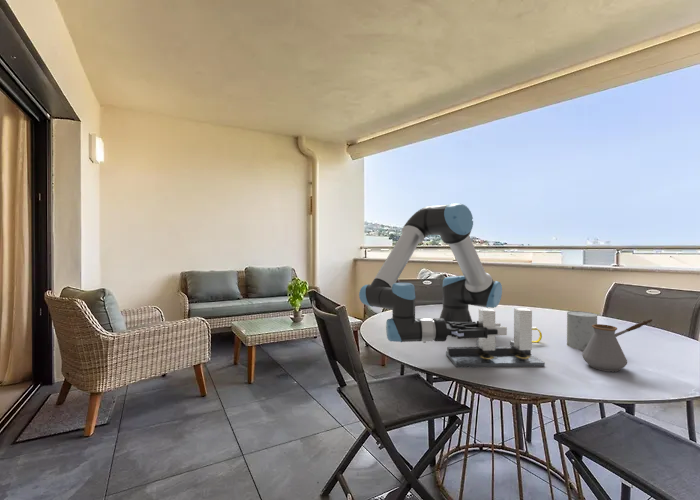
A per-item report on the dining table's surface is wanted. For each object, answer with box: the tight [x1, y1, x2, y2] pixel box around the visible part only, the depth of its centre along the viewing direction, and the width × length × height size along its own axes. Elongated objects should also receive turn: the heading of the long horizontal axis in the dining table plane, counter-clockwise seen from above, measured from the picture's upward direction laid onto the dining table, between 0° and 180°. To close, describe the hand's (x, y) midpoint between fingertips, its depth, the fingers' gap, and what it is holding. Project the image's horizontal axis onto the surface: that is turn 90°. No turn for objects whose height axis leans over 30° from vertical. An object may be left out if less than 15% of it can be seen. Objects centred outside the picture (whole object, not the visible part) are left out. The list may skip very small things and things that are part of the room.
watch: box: [532, 326, 543, 344], centre depth 136 cm, size 6×3×6 cm, turn 83°
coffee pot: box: [582, 318, 657, 373], centre depth 109 cm, size 21×12×15 cm, turn 90°
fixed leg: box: [509, 307, 533, 355], centre depth 118 cm, size 8×4×15 cm, turn 0°
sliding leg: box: [475, 308, 496, 356], centre depth 118 cm, size 8×4×15 cm, turn 0°
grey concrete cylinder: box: [566, 310, 598, 351], centre depth 130 cm, size 10×10×12 cm
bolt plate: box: [445, 345, 546, 368], centre depth 117 cm, size 12×28×3 cm, turn 90°
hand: (502, 329), depth 116 cm, fingers closed on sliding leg, 4 cm apart
